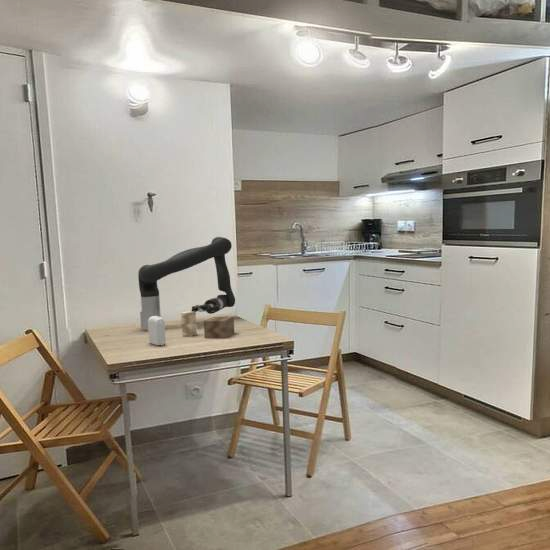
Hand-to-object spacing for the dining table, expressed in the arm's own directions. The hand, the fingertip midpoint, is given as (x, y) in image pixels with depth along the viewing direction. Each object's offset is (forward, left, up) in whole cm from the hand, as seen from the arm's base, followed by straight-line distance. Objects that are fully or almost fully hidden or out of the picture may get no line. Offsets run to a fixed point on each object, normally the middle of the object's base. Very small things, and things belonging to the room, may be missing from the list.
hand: (200, 310), depth 232 cm
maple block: (0, -12, -10) cm, 16 cm away
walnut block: (+15, -11, -10) cm, 21 cm away
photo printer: (-6, -31, -10) cm, 34 cm away
